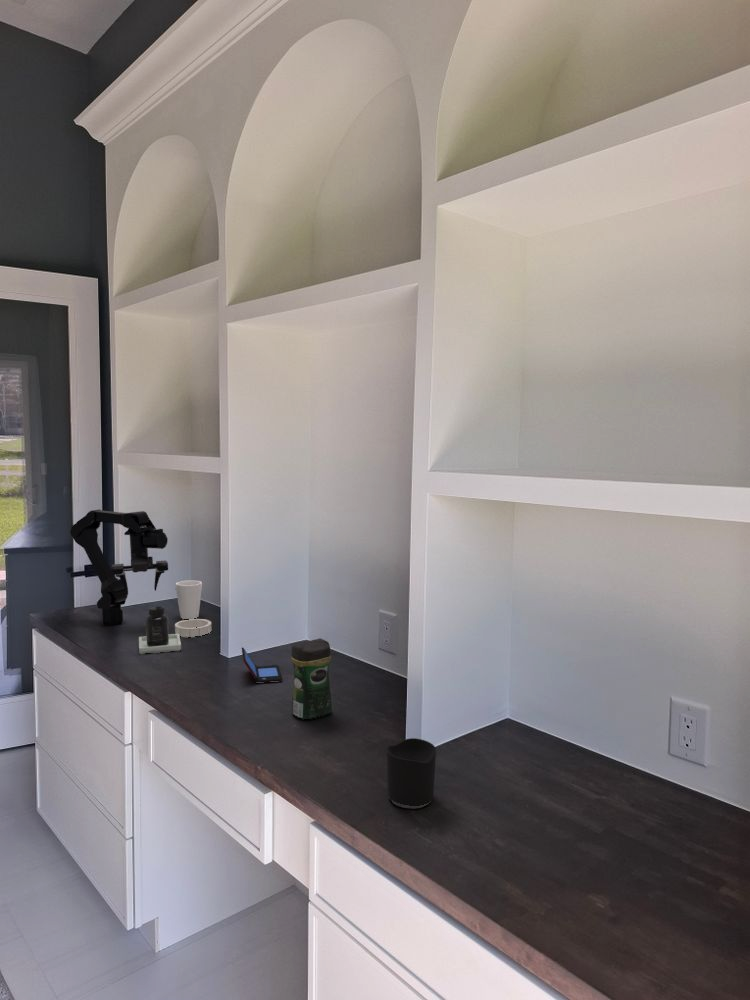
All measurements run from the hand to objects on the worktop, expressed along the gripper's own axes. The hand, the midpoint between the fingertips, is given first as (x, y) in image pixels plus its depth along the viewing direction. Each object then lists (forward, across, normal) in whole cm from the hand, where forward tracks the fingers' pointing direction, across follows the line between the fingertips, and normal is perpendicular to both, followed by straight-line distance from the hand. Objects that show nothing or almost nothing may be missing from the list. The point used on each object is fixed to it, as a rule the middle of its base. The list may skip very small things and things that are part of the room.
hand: (141, 591), depth 248 cm
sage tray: (+14, +5, -24) cm, 28 cm away
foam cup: (+13, +16, +9) cm, 23 cm away
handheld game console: (+16, +32, -61) cm, 70 cm away
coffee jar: (+16, +39, -91) cm, 100 cm away
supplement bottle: (+13, +4, -25) cm, 28 cm away
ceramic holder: (+14, +16, -11) cm, 24 cm away
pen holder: (+18, +48, -136) cm, 145 cm away
